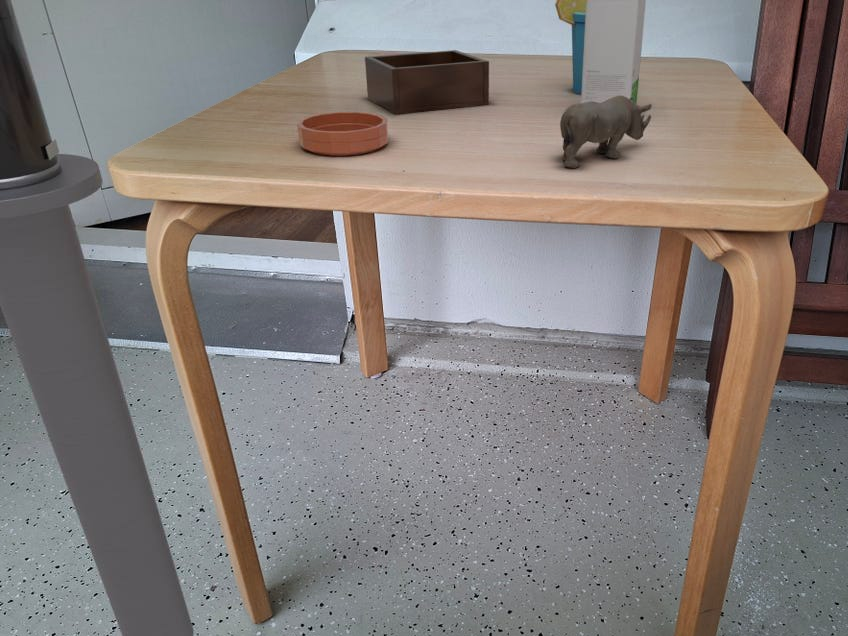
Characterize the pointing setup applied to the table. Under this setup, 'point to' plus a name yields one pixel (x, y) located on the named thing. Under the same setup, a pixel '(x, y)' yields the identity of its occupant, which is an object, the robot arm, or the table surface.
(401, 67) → the box
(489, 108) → the table surface
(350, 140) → the bowl
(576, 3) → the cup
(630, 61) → the cosmetic box
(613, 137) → the rhino figurine
